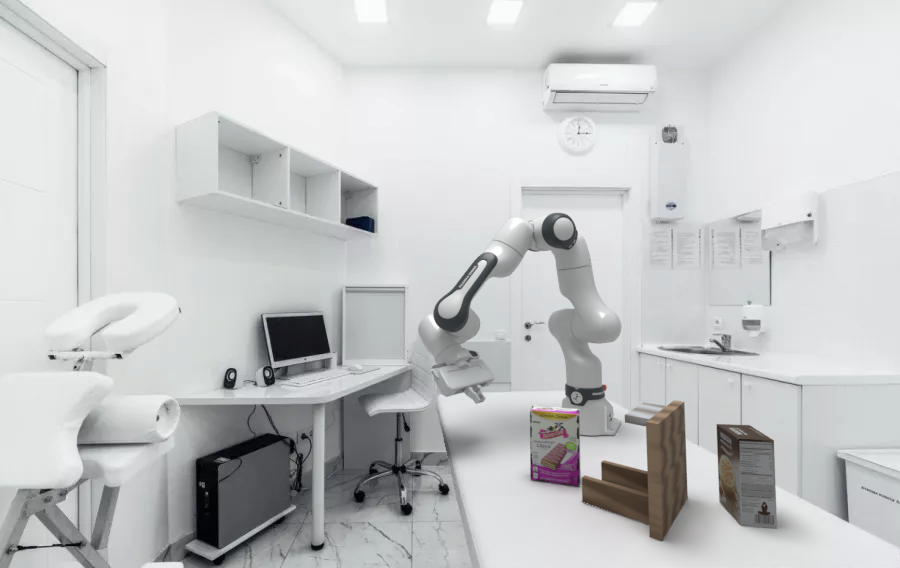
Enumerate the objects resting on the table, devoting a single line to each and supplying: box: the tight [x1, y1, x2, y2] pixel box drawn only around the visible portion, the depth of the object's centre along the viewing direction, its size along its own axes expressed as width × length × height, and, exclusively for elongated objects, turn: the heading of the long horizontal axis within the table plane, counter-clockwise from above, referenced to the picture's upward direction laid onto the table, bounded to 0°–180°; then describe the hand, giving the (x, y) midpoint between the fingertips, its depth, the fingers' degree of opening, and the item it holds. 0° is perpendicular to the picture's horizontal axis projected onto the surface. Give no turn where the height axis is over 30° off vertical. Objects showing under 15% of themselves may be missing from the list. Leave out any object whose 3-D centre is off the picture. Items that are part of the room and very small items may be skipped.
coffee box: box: [716, 423, 778, 529], centre depth 78 cm, size 9×6×16 cm
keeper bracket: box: [581, 400, 689, 542], centre depth 82 cm, size 20×16×20 cm
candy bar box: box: [529, 404, 581, 487], centre depth 94 cm, size 11×5×16 cm, turn 71°
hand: (481, 401), depth 108 cm, fingers closed
